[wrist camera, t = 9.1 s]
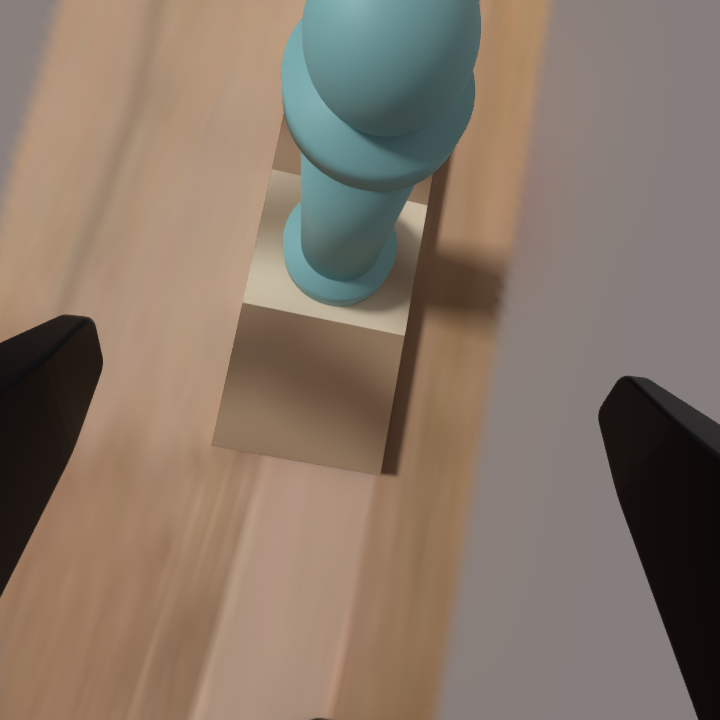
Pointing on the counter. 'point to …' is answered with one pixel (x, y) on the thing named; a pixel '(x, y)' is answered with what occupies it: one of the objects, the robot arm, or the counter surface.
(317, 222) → the pawn
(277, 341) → the board
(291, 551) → the counter surface
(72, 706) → the counter surface
